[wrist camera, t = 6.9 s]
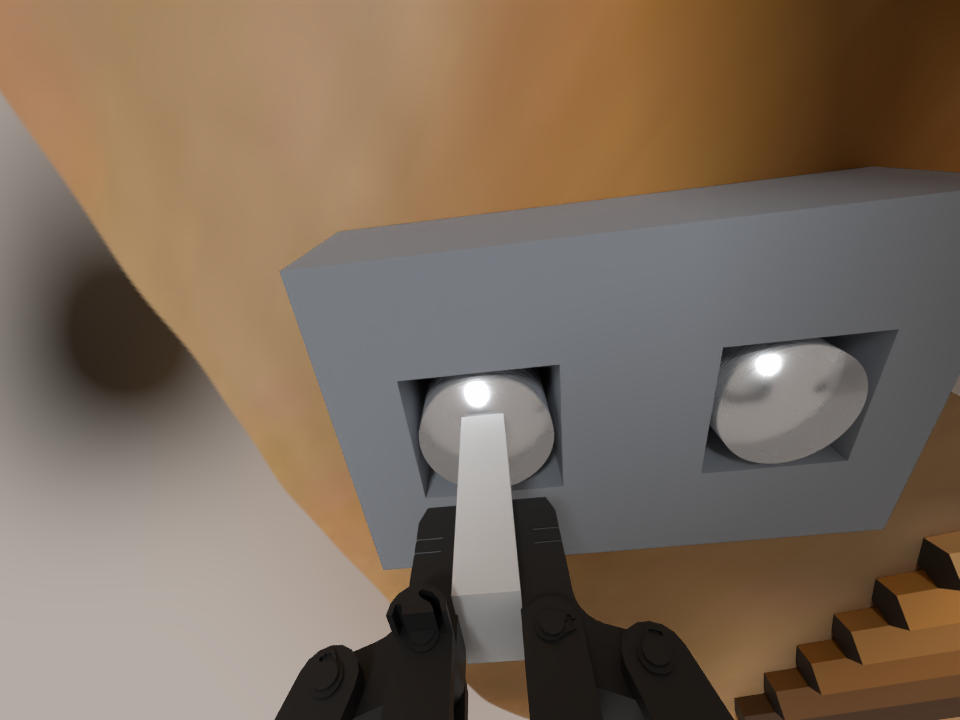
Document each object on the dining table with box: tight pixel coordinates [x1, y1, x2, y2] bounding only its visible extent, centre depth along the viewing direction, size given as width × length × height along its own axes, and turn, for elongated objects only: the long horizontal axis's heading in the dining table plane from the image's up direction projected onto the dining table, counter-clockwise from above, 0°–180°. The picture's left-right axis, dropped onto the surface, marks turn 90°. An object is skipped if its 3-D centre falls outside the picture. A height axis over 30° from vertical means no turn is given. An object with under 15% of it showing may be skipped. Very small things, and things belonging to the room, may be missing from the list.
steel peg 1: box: [419, 367, 554, 485], centre depth 18 cm, size 5×5×5 cm
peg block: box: [280, 166, 960, 570], centre depth 18 cm, size 14×22×6 cm, turn 97°
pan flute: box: [734, 531, 960, 720], centre depth 30 cm, size 25×3×25 cm
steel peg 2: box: [709, 337, 868, 464], centre depth 17 cm, size 5×5×5 cm
